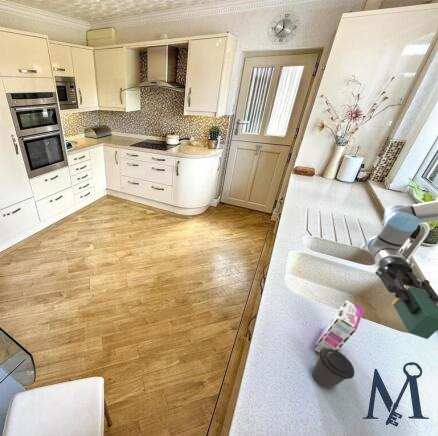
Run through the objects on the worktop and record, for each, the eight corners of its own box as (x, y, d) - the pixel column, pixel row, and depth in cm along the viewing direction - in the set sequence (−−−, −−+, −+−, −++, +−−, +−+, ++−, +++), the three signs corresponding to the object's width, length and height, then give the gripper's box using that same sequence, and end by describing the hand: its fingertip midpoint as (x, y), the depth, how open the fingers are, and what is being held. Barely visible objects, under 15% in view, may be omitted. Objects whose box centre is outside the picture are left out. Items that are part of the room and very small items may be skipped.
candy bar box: (329, 362, 73) (357, 330, 65) (312, 349, 76) (336, 318, 68) (339, 340, 80) (365, 309, 71) (322, 329, 83) (346, 298, 74)
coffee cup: (345, 394, 65) (364, 376, 60) (317, 394, 65) (334, 376, 60) (326, 364, 72) (341, 346, 67) (300, 364, 72) (314, 345, 67)
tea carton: (391, 302, 76) (406, 285, 72) (408, 307, 75) (424, 290, 71) (408, 333, 67) (427, 315, 63) (427, 339, 65) (448, 321, 61)
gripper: (416, 280, 83) (457, 335, 64) (358, 264, 89) (381, 310, 70) (431, 264, 79) (479, 318, 61) (369, 249, 85) (396, 293, 66)
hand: (426, 314), depth 66 cm, fingers closed on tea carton, 4 cm apart
